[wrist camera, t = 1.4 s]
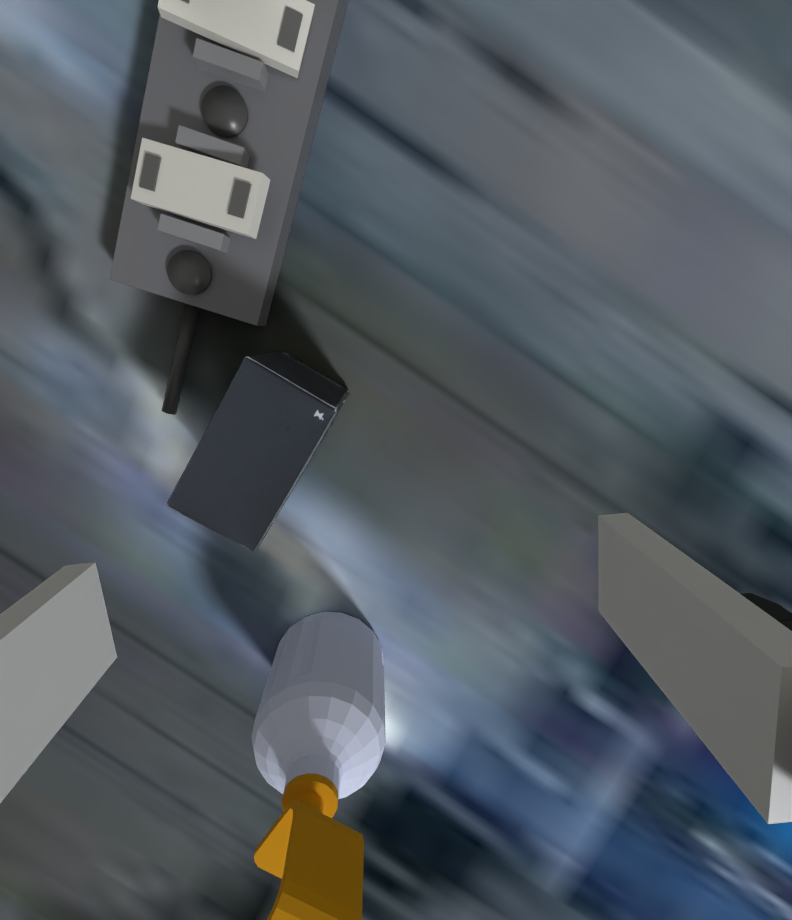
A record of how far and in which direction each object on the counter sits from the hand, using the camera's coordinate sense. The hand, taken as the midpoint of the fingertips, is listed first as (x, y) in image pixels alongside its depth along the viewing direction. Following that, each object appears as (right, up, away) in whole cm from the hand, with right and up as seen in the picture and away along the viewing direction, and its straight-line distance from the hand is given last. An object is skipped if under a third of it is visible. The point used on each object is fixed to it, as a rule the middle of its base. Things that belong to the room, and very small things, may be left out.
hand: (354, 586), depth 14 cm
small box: (-8, +6, +28) cm, 29 cm away
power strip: (-11, +22, +24) cm, 34 cm away
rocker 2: (-11, +20, +19) cm, 30 cm away
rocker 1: (-8, +29, +17) cm, 35 cm away
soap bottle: (-4, -13, +32) cm, 35 cm away
